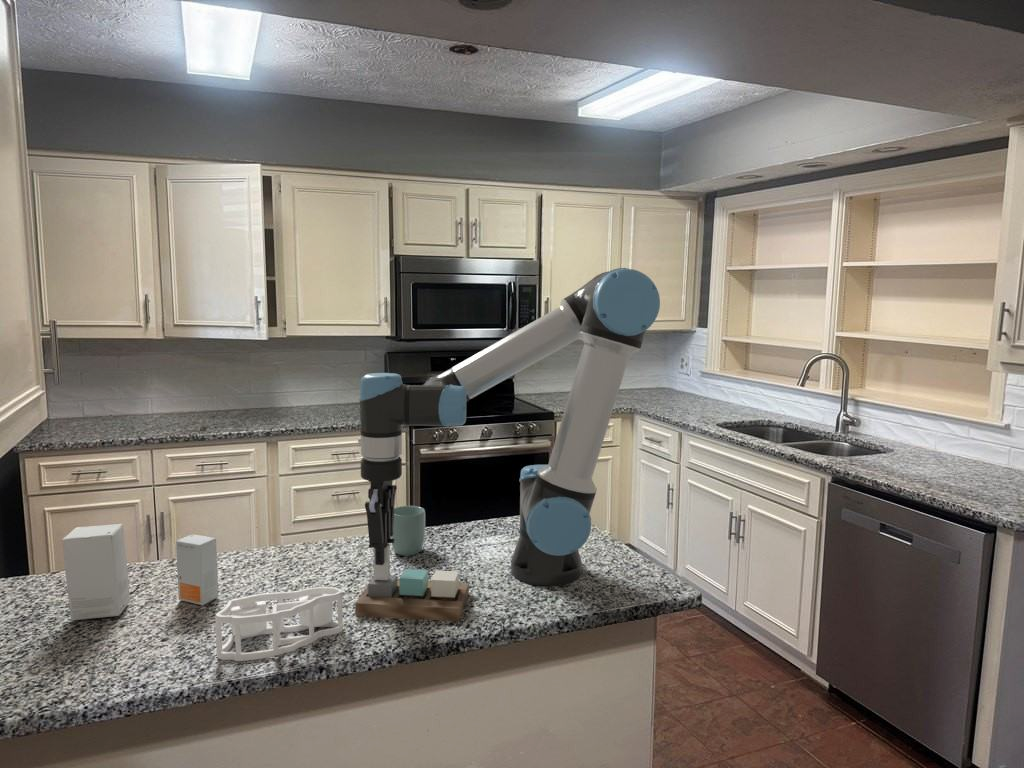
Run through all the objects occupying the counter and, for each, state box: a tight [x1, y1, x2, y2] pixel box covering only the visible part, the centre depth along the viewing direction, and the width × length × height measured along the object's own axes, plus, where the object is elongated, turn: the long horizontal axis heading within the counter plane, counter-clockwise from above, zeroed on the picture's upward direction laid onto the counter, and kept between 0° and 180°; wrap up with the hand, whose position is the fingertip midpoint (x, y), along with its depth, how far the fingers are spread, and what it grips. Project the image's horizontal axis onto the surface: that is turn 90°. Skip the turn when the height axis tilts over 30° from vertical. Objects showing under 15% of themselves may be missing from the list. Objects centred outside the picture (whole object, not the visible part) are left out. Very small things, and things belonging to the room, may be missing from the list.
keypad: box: [354, 579, 470, 622], centre depth 127 cm, size 19×11×2 cm, turn 85°
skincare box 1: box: [61, 523, 131, 621], centre depth 122 cm, size 8×7×16 cm
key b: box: [398, 568, 429, 596], centre depth 126 cm, size 4×4×3 cm
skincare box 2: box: [175, 534, 219, 606], centre depth 128 cm, size 6×4×12 cm
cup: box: [391, 505, 426, 557], centre depth 153 cm, size 8×8×10 cm
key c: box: [367, 574, 398, 598], centre depth 127 cm, size 4×4×3 cm
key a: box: [431, 570, 460, 598], centre depth 126 cm, size 4×4×3 cm
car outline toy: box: [214, 586, 344, 662], centre depth 114 cm, size 20×11×7 cm, turn 108°
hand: (381, 578), depth 127 cm, fingers closed
